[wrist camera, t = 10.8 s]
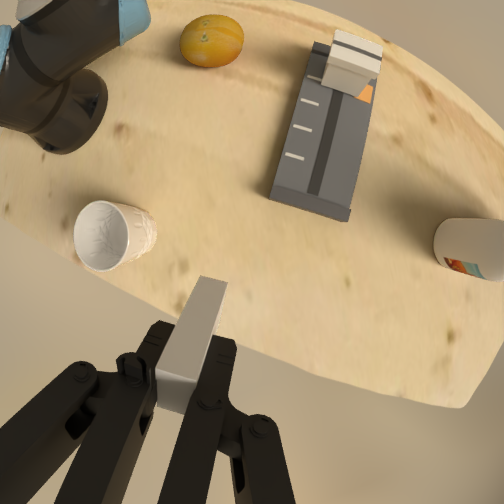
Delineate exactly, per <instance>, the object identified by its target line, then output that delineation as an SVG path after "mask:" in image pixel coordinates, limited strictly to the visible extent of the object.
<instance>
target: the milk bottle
mask: <svg viewBox="0 0 504 504" xmlns="http://www.w3.org/2000/svg"><path fill="white" fill-rule="evenodd" d="M433 247H434V253H435V256H436V258H437V260H438V261H439V263H440V264H441V265H442V266H444V267H445V268H448V269H451V270H454V271H458V272H461V273H464V274H468V275H471V276H475V277H478V278H481V279H485V280H489V281H495V282H503V281H504V221H502V220H496V219H479V218H450V219H447V220H445V221H443V222H442V223H441V224H440V226H439V227H438V228H437V230H436V233H435V236H434V241H433Z"/></svg>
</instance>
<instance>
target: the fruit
mask: <svg viewBox="0 0 504 504" xmlns="http://www.w3.org/2000/svg"><path fill="white" fill-rule="evenodd" d="M243 42H244V33H243V30H242V28H241V26H240V25H239V24H238V23H237V22H236V21H235V20H233V19H232V18H230V17H227V16H223V15H205V16H201V17H199V18H197V19H195V20H193V21H191V22H190V23H189V24H188V25H187V26H186V27H185V28H184V30H183V33H182V35H181V38H180V50H181V53H182V55H183V56H184V57H185V58H186V59H187V60H188V61H189V62H191V63H193V64H195V65H198V66H202V67H220V66H224V65H227V64H229V63H231V62H232V61H234V60H235V59H236V58H237V57H238V55H239V54H240V52H241V49H242V46H243Z"/></svg>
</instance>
